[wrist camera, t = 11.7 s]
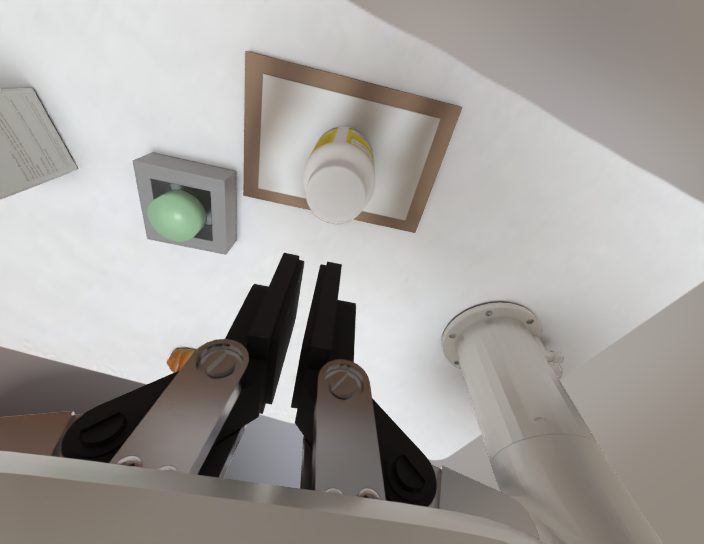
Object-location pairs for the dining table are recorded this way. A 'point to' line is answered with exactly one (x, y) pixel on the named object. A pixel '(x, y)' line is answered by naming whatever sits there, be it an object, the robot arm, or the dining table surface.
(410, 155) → the board
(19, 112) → the supplement box
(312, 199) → the supplement bottle
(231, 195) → the button housing
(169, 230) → the button
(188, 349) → the pastry
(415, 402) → the dining table surface
